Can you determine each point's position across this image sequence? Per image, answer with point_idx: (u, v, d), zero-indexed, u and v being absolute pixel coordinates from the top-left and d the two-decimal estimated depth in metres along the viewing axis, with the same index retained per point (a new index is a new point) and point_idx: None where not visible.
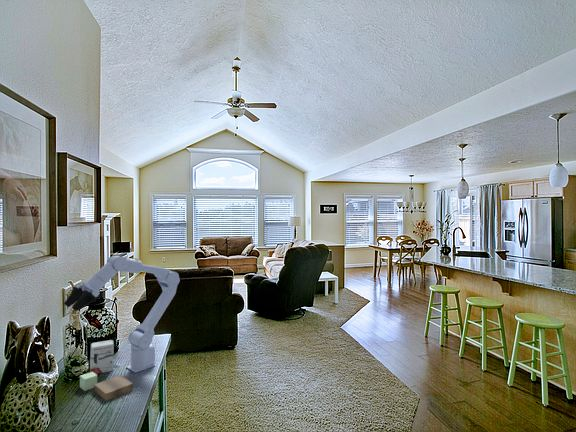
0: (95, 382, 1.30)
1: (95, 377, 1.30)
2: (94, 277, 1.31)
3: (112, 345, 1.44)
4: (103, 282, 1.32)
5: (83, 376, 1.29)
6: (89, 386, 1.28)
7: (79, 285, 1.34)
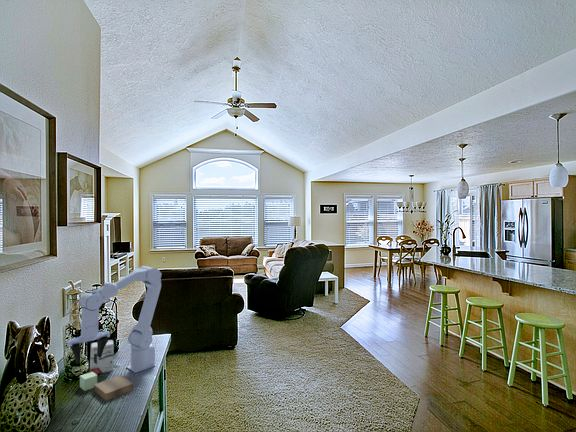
0: (95, 382, 1.30)
1: (95, 377, 1.30)
2: (95, 327, 1.29)
3: (112, 345, 1.44)
4: None
5: (83, 376, 1.29)
6: (89, 386, 1.28)
7: (70, 343, 1.24)
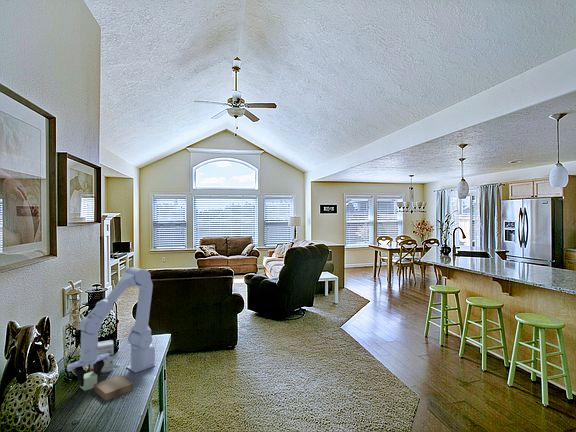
0: (95, 382, 1.30)
1: (95, 377, 1.30)
2: (95, 351, 1.30)
3: (112, 345, 1.44)
4: None
5: None
6: (89, 386, 1.28)
7: (70, 368, 1.24)
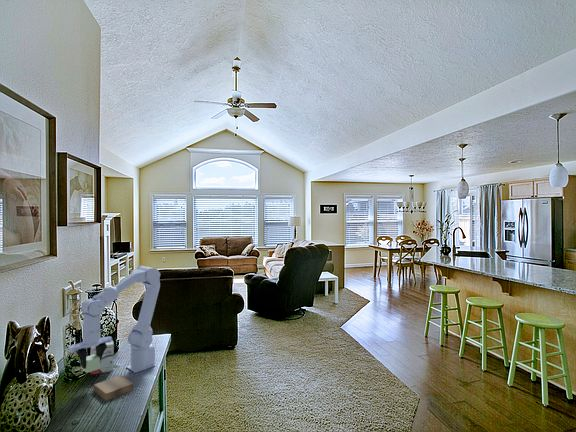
0: (97, 364, 1.30)
1: (97, 359, 1.30)
2: (97, 333, 1.29)
3: (112, 345, 1.44)
4: None
5: None
6: (91, 368, 1.28)
7: (72, 349, 1.24)
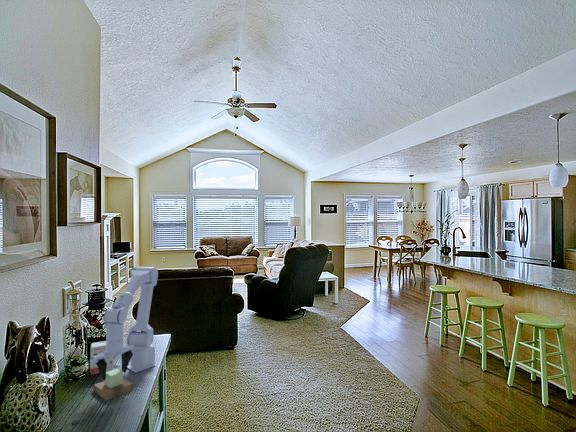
0: (120, 379, 1.28)
1: (120, 374, 1.28)
2: (120, 342, 1.27)
3: None
4: None
5: (108, 373, 1.27)
6: (114, 383, 1.26)
7: (96, 359, 1.22)
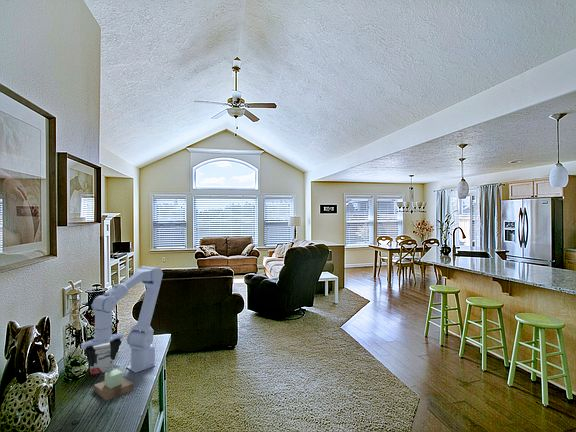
0: (120, 379, 1.28)
1: (120, 374, 1.28)
2: (109, 330, 1.28)
3: None
4: None
5: (108, 373, 1.27)
6: (115, 383, 1.26)
7: (84, 346, 1.23)
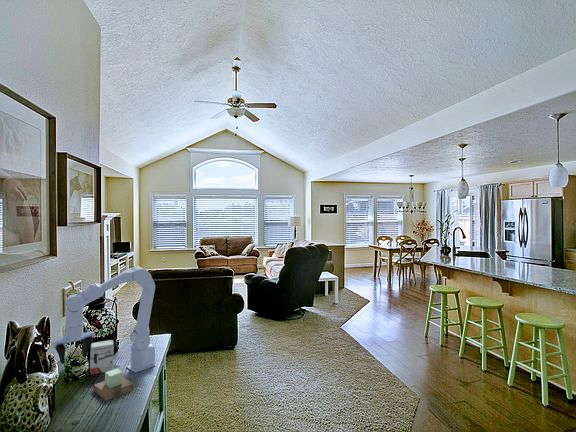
0: (120, 379, 1.28)
1: (120, 374, 1.28)
2: (79, 328, 1.31)
3: (112, 345, 1.44)
4: None
5: (108, 373, 1.27)
6: (114, 383, 1.26)
7: (54, 344, 1.26)
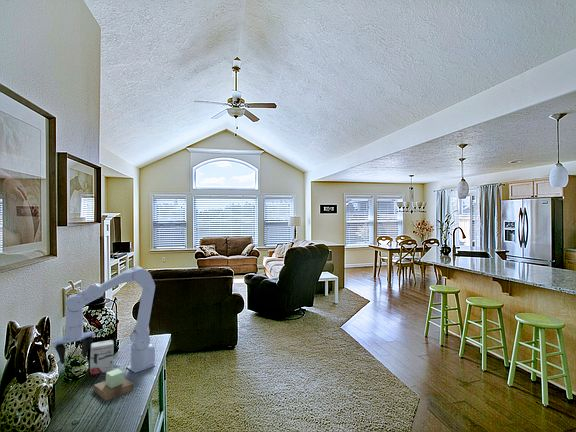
0: (121, 379, 1.28)
1: (121, 374, 1.28)
2: (79, 328, 1.31)
3: (112, 345, 1.44)
4: None
5: (109, 373, 1.27)
6: (115, 383, 1.26)
7: (54, 344, 1.26)
